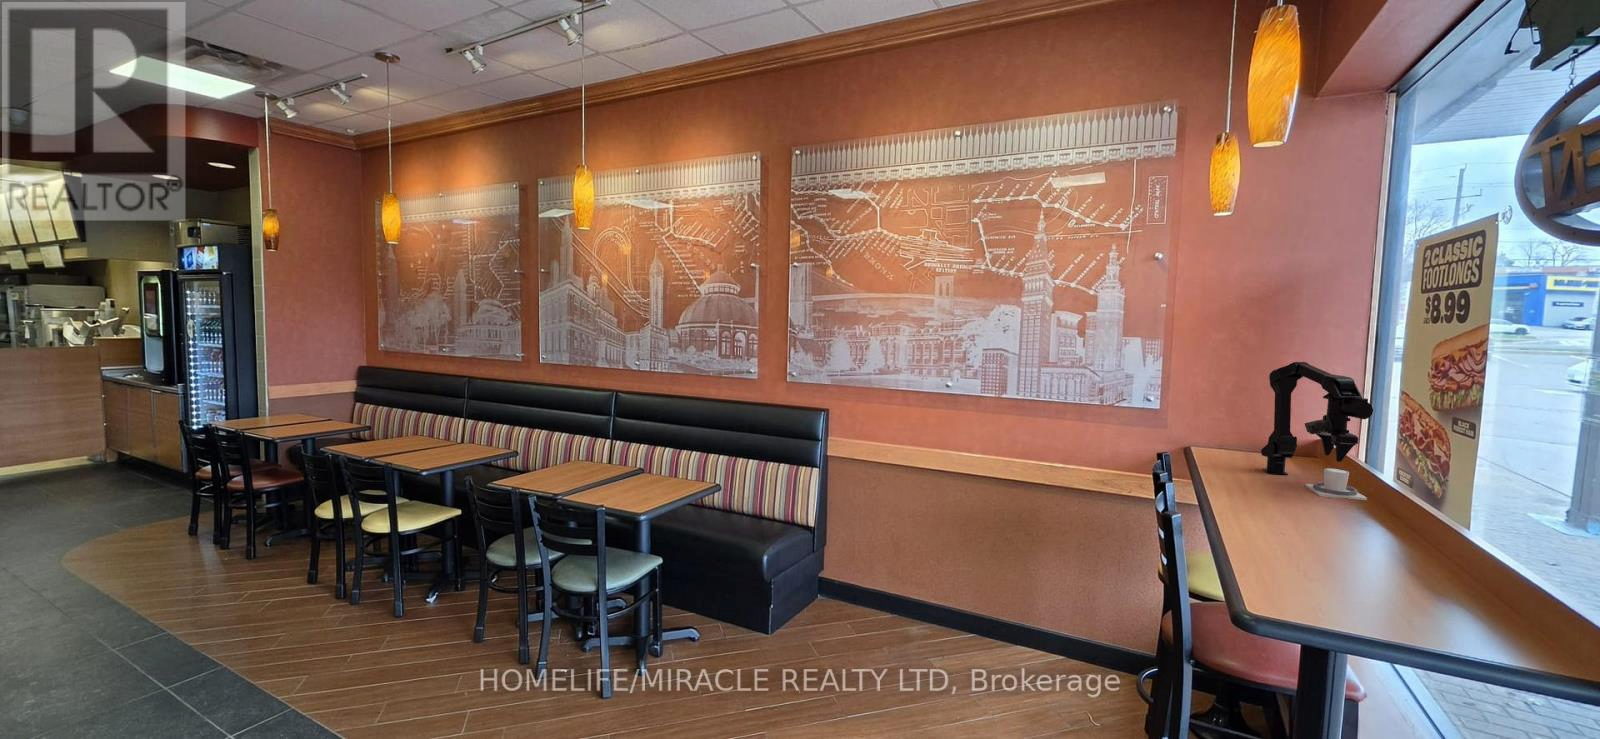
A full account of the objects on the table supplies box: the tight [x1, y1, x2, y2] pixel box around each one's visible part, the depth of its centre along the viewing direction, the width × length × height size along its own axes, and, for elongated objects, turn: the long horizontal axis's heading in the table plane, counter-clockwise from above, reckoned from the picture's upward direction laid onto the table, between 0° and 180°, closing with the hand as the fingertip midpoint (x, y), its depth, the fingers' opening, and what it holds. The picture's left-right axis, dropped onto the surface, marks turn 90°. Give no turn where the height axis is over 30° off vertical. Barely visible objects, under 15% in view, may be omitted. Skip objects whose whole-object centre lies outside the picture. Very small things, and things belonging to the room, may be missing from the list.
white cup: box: [1323, 467, 1350, 491], centre depth 226 cm, size 7×7×7 cm
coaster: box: [1304, 481, 1368, 501], centre depth 226 cm, size 13×13×2 cm
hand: (1332, 458), depth 226 cm, fingers open, 9 cm apart
